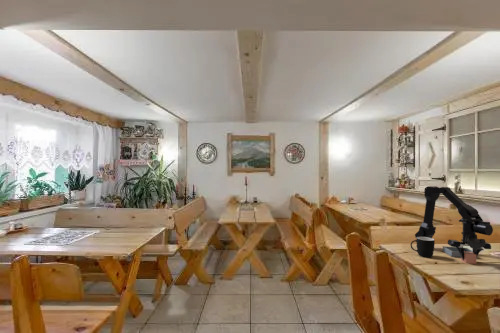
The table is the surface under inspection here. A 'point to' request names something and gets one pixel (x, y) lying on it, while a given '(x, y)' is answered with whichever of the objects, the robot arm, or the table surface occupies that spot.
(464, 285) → the table surface
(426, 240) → the mug
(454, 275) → the table surface
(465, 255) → the red block
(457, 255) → the tray
